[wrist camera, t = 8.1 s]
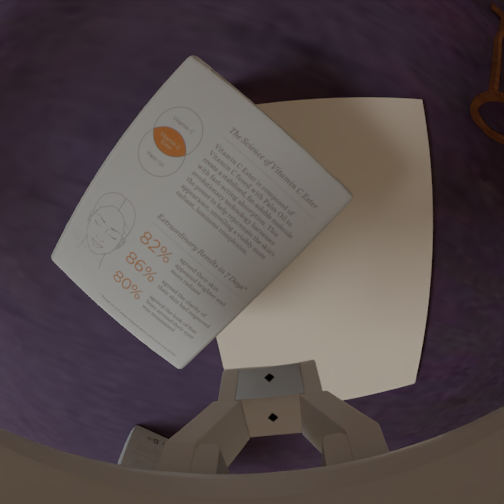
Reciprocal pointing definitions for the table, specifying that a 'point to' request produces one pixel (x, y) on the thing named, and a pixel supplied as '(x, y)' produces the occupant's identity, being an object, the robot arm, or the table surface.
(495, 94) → the glasses
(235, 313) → the small box
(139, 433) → the skincare box
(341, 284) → the felt mat
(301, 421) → the robot arm
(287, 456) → the table surface
